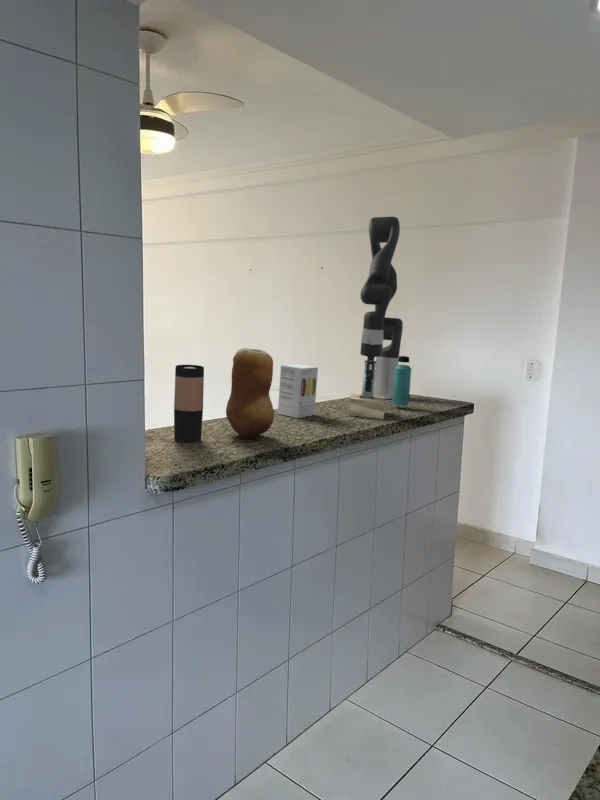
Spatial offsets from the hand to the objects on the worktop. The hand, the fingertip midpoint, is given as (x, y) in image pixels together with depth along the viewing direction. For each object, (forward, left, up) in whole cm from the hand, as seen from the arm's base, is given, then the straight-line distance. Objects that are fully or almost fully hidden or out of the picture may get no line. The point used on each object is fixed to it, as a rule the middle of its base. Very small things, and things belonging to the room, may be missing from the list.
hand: (367, 390), depth 210 cm
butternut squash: (+47, -34, -9) cm, 59 cm away
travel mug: (+56, -49, -9) cm, 75 cm away
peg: (0, 0, -4) cm, 4 cm away
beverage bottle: (-17, +13, -9) cm, 23 cm away
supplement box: (+11, -24, -9) cm, 28 cm away
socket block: (0, 0, -9) cm, 9 cm away
